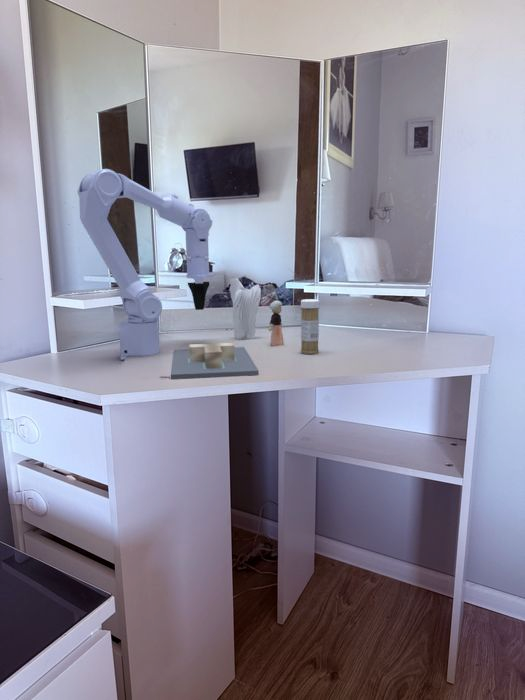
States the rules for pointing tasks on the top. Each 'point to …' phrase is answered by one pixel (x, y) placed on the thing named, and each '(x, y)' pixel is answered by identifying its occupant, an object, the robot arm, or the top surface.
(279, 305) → the grandmother figurine
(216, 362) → the maple T block
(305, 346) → the sprinkles bottle
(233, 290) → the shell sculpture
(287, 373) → the top surface
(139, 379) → the top surface
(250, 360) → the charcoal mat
